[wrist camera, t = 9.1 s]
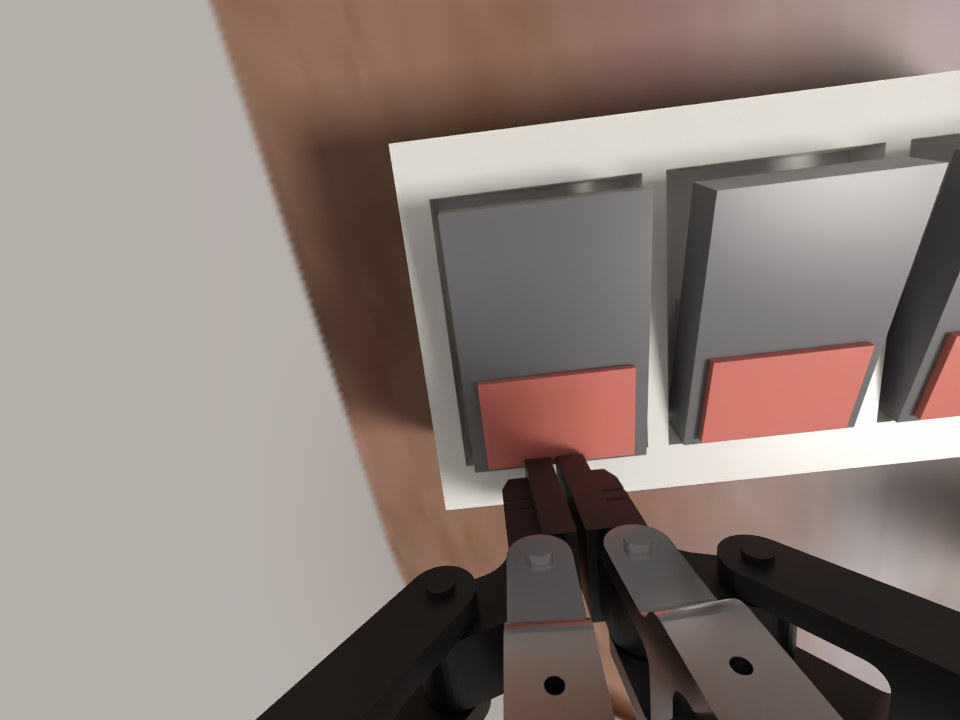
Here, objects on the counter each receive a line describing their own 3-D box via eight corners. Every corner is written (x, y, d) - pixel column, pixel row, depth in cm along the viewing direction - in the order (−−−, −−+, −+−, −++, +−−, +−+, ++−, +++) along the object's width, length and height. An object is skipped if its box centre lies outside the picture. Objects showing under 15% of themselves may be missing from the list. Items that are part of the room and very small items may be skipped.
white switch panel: (965, 100, 16) (1189, 40, 11) (923, 386, 19) (1085, 443, 14) (416, 170, 16) (388, 143, 11) (454, 437, 19) (446, 510, 14)
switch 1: (636, 186, 11) (657, 188, 10) (632, 431, 14) (648, 458, 13) (440, 210, 11) (437, 216, 10) (474, 448, 14) (475, 477, 13)
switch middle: (902, 155, 11) (958, 163, 10) (825, 403, 14) (859, 431, 13) (693, 181, 11) (721, 192, 10) (667, 419, 14) (686, 449, 13)
